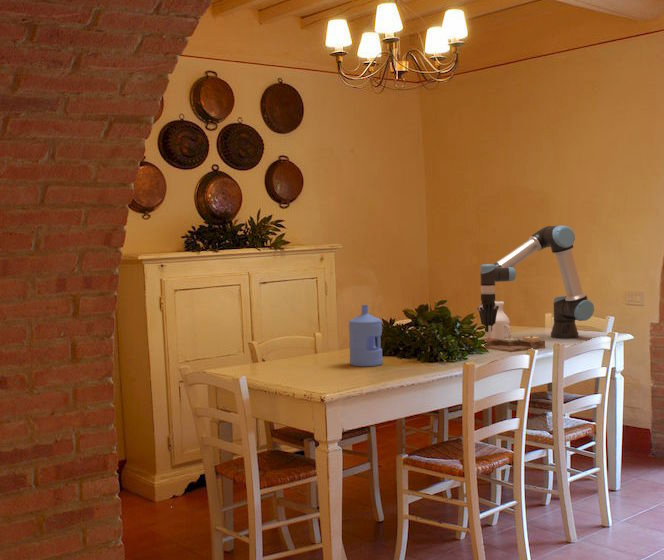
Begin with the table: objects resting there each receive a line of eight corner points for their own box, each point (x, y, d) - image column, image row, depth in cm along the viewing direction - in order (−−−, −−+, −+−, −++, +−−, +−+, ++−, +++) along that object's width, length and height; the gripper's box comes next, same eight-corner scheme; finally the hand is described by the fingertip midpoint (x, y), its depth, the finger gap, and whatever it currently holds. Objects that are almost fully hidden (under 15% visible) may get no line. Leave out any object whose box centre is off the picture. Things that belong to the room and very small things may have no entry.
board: (509, 342, 463) (509, 336, 462) (545, 347, 439) (545, 340, 439) (475, 346, 451) (475, 339, 451) (510, 352, 427) (510, 345, 427)
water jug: (345, 366, 396) (343, 306, 395) (355, 361, 411) (354, 303, 409) (377, 367, 391) (375, 307, 389) (386, 362, 406) (385, 303, 404)
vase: (512, 337, 484) (511, 302, 482) (487, 338, 484) (486, 303, 483) (507, 334, 498) (506, 300, 497) (483, 335, 498) (482, 301, 497)
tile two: (489, 342, 453) (489, 337, 453) (497, 343, 448) (496, 338, 448) (480, 343, 450) (480, 338, 450) (488, 344, 445) (488, 339, 445)
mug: (515, 340, 471) (514, 321, 471) (506, 341, 466) (506, 323, 465) (497, 338, 480) (496, 320, 479) (488, 340, 474) (488, 322, 474)
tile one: (510, 342, 449) (510, 337, 449) (518, 343, 444) (518, 338, 444) (501, 343, 446) (501, 338, 446) (509, 344, 441) (509, 339, 441)
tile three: (531, 341, 445) (531, 335, 445) (539, 342, 440) (539, 336, 440) (523, 342, 442) (523, 336, 442) (531, 343, 437) (531, 337, 437)
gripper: (492, 292, 454) (493, 336, 455) (473, 293, 447) (474, 338, 449) (502, 293, 447) (502, 337, 449) (483, 294, 441) (483, 339, 442)
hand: (488, 337), depth 449 cm, fingers closed
